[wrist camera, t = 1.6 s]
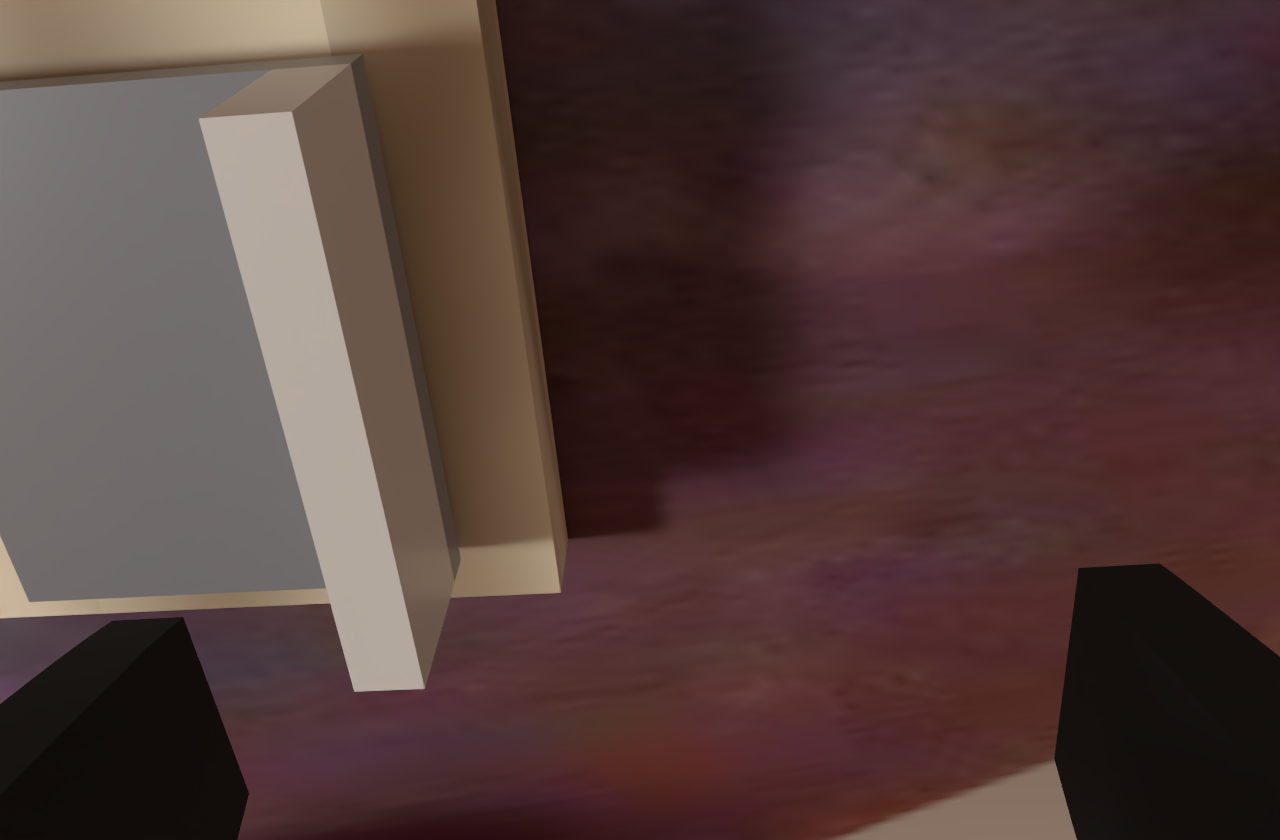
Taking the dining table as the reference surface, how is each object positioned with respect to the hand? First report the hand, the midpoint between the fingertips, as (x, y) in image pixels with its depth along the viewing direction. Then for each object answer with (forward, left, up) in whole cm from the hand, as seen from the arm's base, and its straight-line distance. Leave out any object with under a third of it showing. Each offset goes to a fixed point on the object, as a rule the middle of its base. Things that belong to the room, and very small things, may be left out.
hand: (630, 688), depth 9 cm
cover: (+4, +6, -8) cm, 10 cm away
